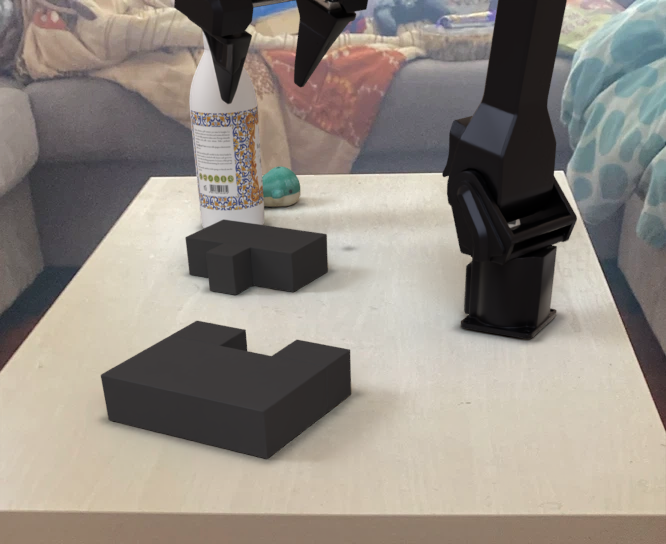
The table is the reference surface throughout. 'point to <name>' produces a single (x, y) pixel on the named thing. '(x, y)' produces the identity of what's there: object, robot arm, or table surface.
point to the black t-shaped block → (256, 256)
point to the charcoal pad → (227, 389)
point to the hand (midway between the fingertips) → (263, 93)
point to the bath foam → (226, 148)
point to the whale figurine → (280, 187)
